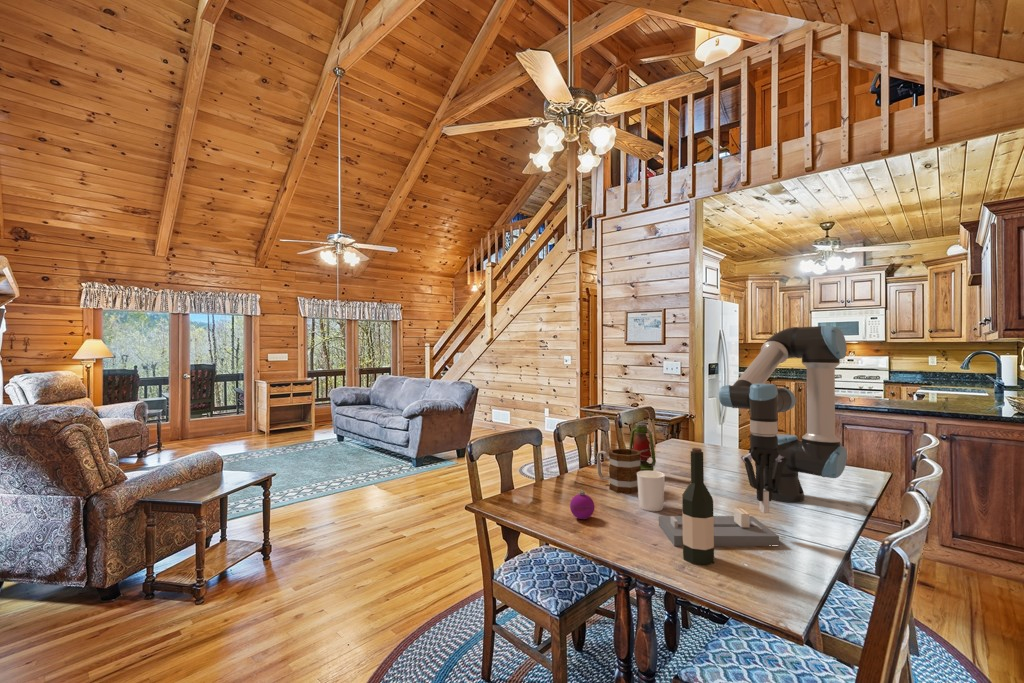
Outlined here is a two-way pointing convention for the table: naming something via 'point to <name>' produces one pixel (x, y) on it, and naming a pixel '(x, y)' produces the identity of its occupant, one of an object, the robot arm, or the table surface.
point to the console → (723, 532)
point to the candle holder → (651, 490)
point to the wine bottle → (698, 516)
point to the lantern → (643, 443)
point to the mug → (622, 469)
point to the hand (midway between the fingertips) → (764, 511)
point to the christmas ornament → (582, 505)
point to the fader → (741, 517)
